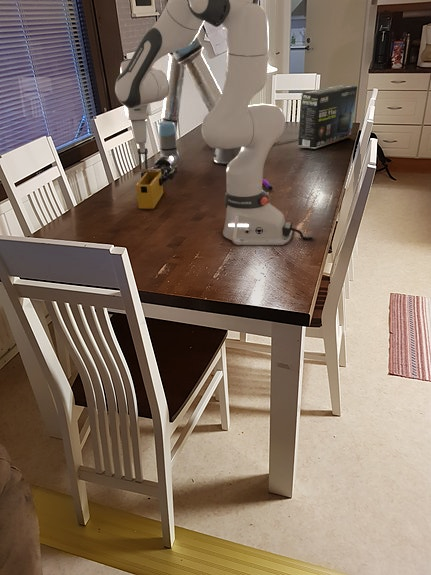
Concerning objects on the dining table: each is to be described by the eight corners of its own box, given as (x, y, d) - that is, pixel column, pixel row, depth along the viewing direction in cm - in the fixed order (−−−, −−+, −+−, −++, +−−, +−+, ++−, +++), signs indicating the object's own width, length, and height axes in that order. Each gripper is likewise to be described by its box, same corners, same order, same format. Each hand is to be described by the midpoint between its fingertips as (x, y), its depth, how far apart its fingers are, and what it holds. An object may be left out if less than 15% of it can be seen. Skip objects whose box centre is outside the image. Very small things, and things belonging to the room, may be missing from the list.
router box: (314, 151, 231) (318, 94, 217) (296, 148, 237) (299, 92, 224) (352, 138, 251) (358, 85, 238) (335, 135, 258) (340, 83, 245)
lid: (149, 171, 164) (148, 148, 162) (133, 171, 164) (132, 148, 162) (161, 171, 181) (160, 149, 179) (147, 171, 182) (146, 149, 180)
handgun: (242, 177, 199) (242, 173, 198) (259, 175, 200) (259, 171, 199) (254, 192, 182) (254, 188, 181) (273, 190, 183) (273, 185, 182)
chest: (153, 208, 171) (151, 185, 167) (138, 208, 172) (135, 185, 167) (163, 193, 186) (161, 171, 181) (149, 193, 186) (147, 171, 182)
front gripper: (129, 106, 166) (134, 144, 173) (127, 116, 149) (133, 158, 156) (147, 105, 167) (151, 143, 174) (147, 114, 150) (152, 157, 157)
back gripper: (186, 173, 199) (176, 191, 180) (144, 173, 202) (130, 191, 182) (185, 156, 195) (174, 172, 176) (142, 156, 198) (127, 172, 178)
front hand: (142, 150), depth 165 cm, fingers closed on lid, 2 cm apart
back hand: (152, 182), depth 179 cm, fingers closed on chest, 6 cm apart
